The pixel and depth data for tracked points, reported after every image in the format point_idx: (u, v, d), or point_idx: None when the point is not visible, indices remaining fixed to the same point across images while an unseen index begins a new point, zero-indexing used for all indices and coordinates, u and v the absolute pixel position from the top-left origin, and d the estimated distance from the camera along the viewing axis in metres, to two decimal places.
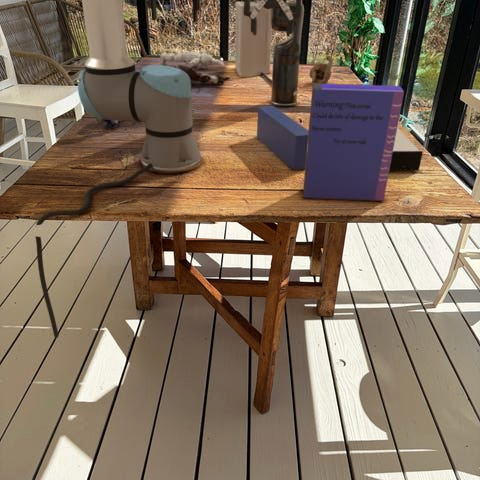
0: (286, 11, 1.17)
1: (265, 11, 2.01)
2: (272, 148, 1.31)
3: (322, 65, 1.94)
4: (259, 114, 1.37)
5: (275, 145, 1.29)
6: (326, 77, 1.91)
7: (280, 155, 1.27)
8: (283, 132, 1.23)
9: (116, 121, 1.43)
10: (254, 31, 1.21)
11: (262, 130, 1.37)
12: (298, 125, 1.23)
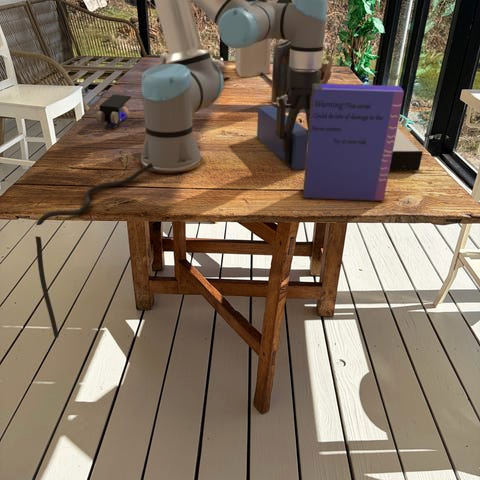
0: None
1: None
2: (272, 148, 1.31)
3: (322, 65, 1.94)
4: (259, 114, 1.37)
5: (275, 145, 1.29)
6: (326, 77, 1.91)
7: (280, 155, 1.27)
8: None
9: (116, 121, 1.43)
10: None
11: (262, 130, 1.37)
12: (298, 125, 1.23)
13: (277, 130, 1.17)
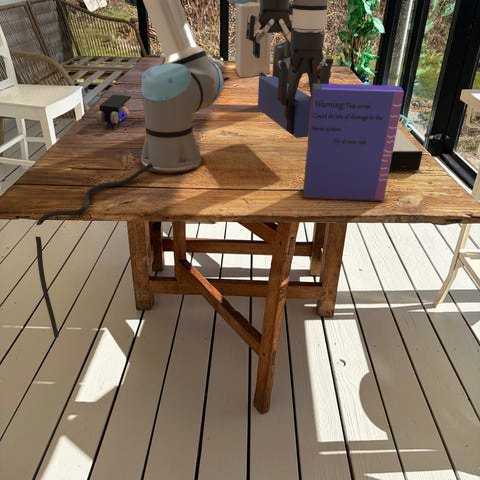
0: (287, 34, 1.26)
1: None
2: (273, 118, 1.27)
3: None
4: (260, 84, 1.32)
5: (276, 114, 1.25)
6: None
7: (282, 124, 1.23)
8: None
9: (116, 121, 1.43)
10: (258, 54, 1.26)
11: (263, 100, 1.32)
12: (300, 92, 1.18)
13: (279, 96, 1.12)
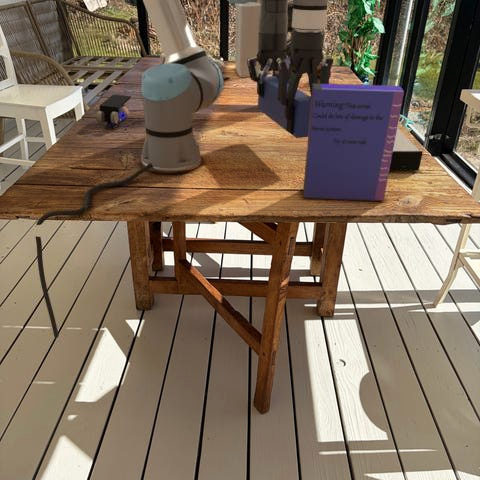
0: None
1: None
2: (273, 118, 1.27)
3: None
4: None
5: (277, 114, 1.25)
6: None
7: (282, 124, 1.23)
8: None
9: (116, 121, 1.43)
10: (262, 94, 1.31)
11: (263, 100, 1.32)
12: (300, 92, 1.18)
13: (279, 95, 1.12)
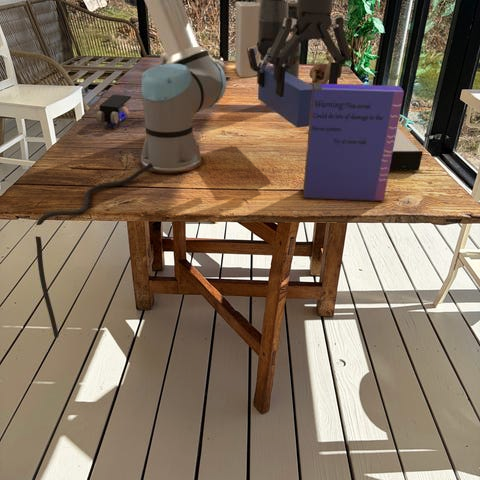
0: None
1: None
2: (274, 108, 1.26)
3: (322, 65, 1.94)
4: None
5: (277, 104, 1.24)
6: (326, 77, 1.91)
7: (282, 114, 1.22)
8: (285, 88, 1.17)
9: (116, 121, 1.43)
10: (263, 84, 1.30)
11: (263, 90, 1.31)
12: (301, 81, 1.17)
13: (270, 53, 1.05)
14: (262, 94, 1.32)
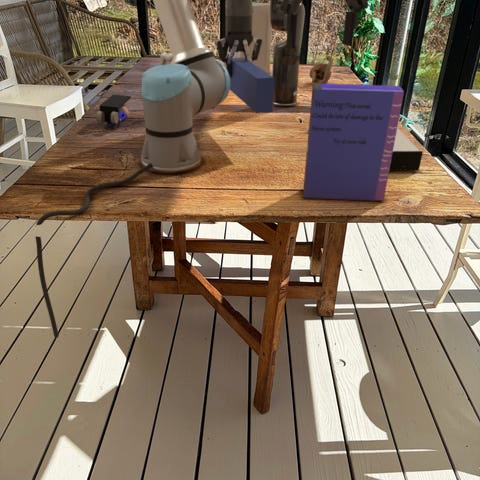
0: (248, 55, 1.39)
1: (265, 11, 2.01)
2: (240, 96, 1.36)
3: (322, 65, 1.94)
4: None
5: (242, 92, 1.34)
6: (326, 77, 1.91)
7: (246, 101, 1.32)
8: (247, 77, 1.28)
9: (116, 121, 1.43)
10: (231, 74, 1.41)
11: (232, 80, 1.42)
12: (261, 71, 1.27)
13: None
14: (231, 83, 1.43)
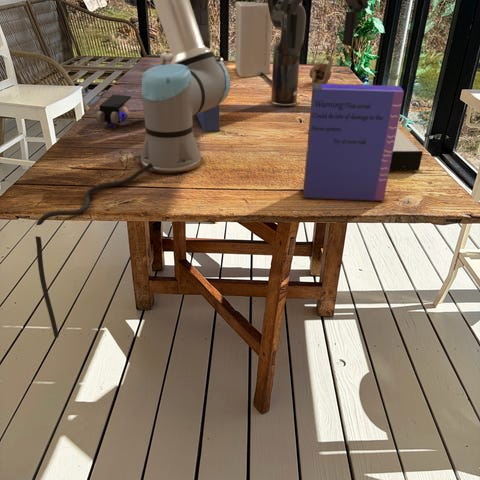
0: None
1: (265, 11, 2.01)
2: (197, 116, 1.56)
3: (322, 65, 1.94)
4: None
5: (198, 113, 1.54)
6: (326, 77, 1.91)
7: (200, 121, 1.52)
8: None
9: (116, 121, 1.43)
10: None
11: None
12: None
13: None
14: None
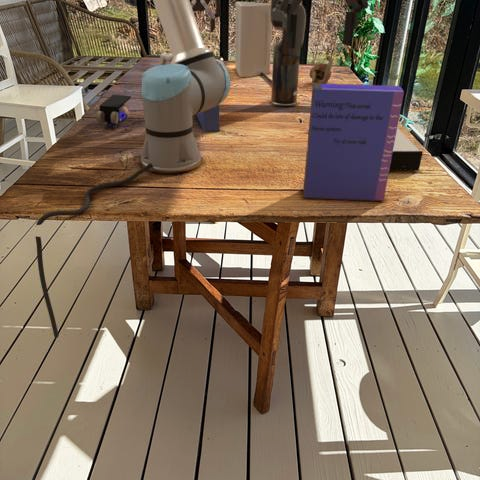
0: (209, 12, 1.48)
1: (265, 11, 2.01)
2: (197, 116, 1.56)
3: (322, 65, 1.94)
4: None
5: (198, 113, 1.54)
6: (326, 77, 1.91)
7: (200, 121, 1.52)
8: None
9: (116, 121, 1.43)
10: None
11: None
12: None
13: None
14: None
